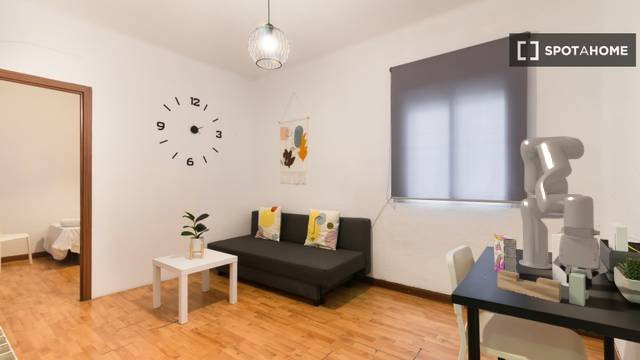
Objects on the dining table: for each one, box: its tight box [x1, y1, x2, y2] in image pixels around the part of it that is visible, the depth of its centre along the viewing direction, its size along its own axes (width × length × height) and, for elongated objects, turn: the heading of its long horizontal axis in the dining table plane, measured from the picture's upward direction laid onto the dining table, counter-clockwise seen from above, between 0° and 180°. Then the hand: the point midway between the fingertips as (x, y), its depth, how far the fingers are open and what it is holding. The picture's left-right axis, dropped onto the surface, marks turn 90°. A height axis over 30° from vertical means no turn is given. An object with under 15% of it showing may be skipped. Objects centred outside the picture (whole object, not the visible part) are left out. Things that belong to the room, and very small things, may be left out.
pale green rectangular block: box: [568, 268, 590, 307], centre depth 97 cm, size 11×4×9 cm, turn 131°
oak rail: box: [496, 270, 562, 303], centre depth 103 cm, size 4×18×6 cm, turn 41°
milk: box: [551, 226, 579, 288], centre depth 112 cm, size 6×6×22 cm
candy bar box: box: [493, 233, 518, 273], centre depth 123 cm, size 11×5×16 cm, turn 168°
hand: (579, 287), depth 97 cm, fingers closed on pale green rectangular block, 3 cm apart
